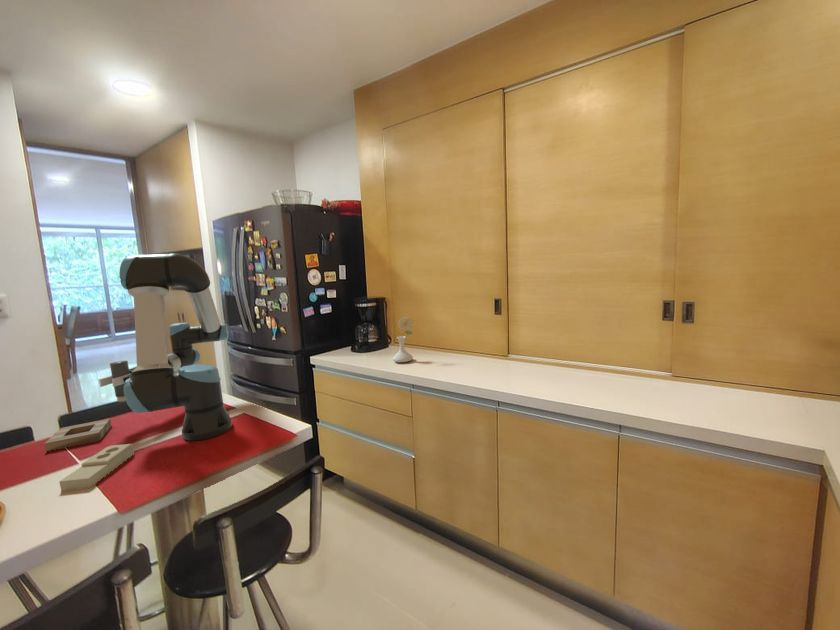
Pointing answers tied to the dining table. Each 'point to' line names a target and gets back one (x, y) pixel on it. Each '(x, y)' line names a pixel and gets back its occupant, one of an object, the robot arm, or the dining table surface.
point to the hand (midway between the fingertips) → (106, 382)
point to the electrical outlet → (97, 467)
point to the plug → (118, 371)
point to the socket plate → (78, 434)
